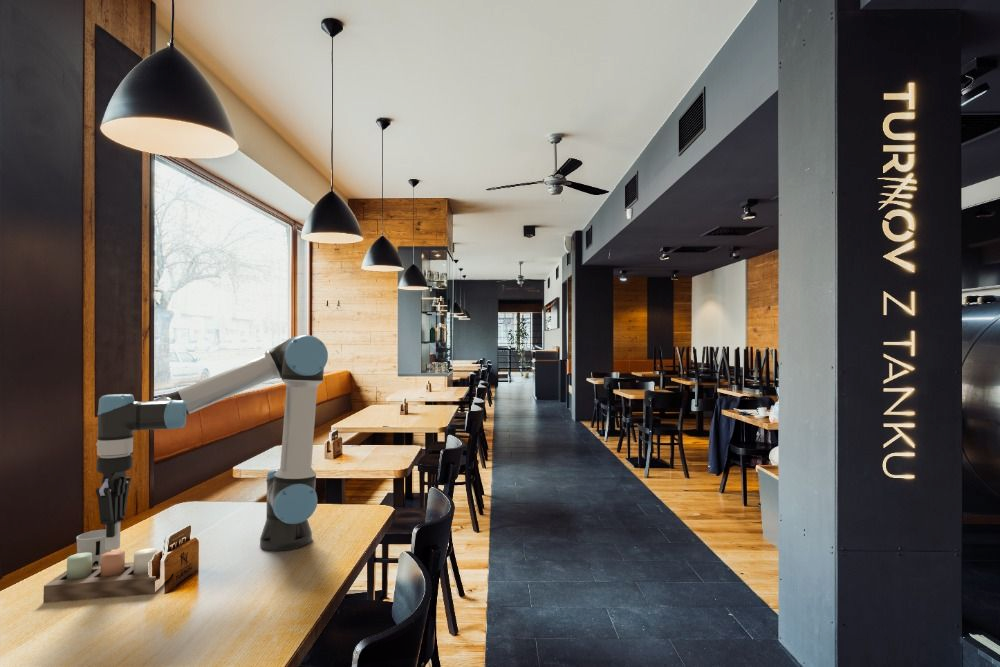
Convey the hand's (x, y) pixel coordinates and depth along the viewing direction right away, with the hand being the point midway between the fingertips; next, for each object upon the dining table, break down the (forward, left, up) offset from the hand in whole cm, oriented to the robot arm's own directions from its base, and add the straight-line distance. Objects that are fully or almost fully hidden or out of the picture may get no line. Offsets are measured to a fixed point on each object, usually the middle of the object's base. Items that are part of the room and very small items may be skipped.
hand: (112, 548), depth 139 cm
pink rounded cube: (0, 0, -6) cm, 6 cm away
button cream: (-8, 0, -6) cm, 10 cm away
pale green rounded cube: (+7, 0, -6) cm, 10 cm away
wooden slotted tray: (0, 0, -10) cm, 10 cm away
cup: (+10, -13, -10) cm, 19 cm away
